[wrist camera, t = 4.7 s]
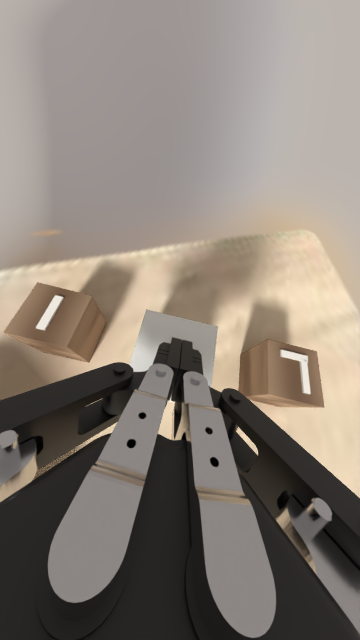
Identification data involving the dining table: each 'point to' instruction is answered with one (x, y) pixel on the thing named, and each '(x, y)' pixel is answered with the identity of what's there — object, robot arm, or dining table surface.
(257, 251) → the dining table surface
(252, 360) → the walnut block
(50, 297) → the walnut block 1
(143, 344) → the plain block
